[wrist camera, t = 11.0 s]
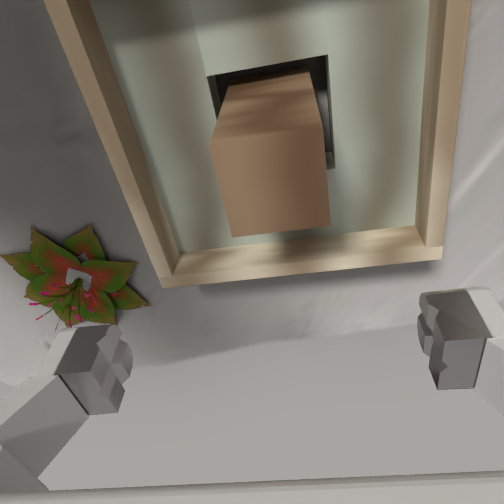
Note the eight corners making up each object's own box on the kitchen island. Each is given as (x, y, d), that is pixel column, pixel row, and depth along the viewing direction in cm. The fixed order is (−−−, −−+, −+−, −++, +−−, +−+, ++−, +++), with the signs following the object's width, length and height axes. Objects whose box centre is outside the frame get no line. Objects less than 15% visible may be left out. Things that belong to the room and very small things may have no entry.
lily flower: (176, 307, 37) (164, 348, 33) (66, 336, 40) (45, 376, 36) (99, 196, 30) (75, 231, 26) (-25, 240, 33) (-62, 277, 30)
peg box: (176, 245, 32) (162, 288, 28) (77, -34, 21) (31, -28, 17) (419, 215, 29) (441, 259, 25) (442, -119, 19) (487, -135, 15)
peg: (245, 149, 27) (232, 237, 19) (230, 78, 24) (208, 145, 16) (314, 139, 26) (330, 225, 18) (307, 64, 24) (323, 127, 16)
